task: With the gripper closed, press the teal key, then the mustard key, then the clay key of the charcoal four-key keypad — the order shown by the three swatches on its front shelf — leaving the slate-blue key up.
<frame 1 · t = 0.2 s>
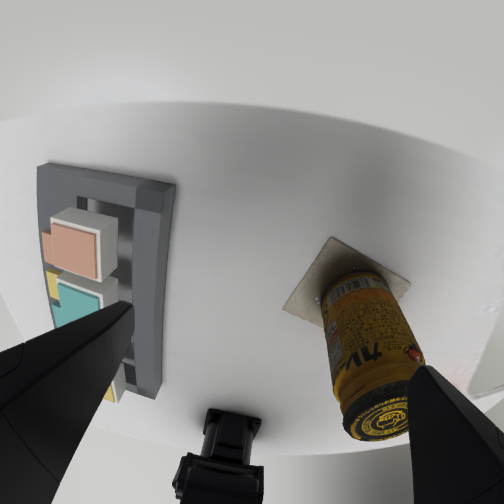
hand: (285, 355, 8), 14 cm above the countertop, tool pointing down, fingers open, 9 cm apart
key mustard: (103, 372, 25), point 4 cm above the countertop, slide at 0.0 cm
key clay: (87, 240, 19), point 4 cm above the countertop, slide at 0.0 cm
key teal: (91, 295, 21), point 4 cm above the countertop, slide at 0.0 cm
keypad: (106, 290, 25), on the countertop
condiment: (348, 294, 23), on the countertop
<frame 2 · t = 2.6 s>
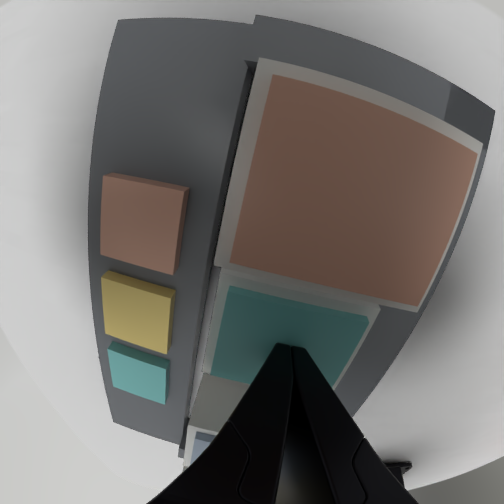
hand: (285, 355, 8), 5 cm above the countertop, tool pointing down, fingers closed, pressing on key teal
key mustard: (229, 467, 12), point 4 cm above the countertop, slide at 0.0 cm
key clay: (341, 181, 6), point 4 cm above the countertop, slide at 0.0 cm
key slate: (249, 426, 10), point 4 cm above the countertop, slide at 0.0 cm
key teal: (284, 312, 10), point 3 cm above the countertop, slide at -1.6 cm, touching gripper
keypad: (248, 317, 13), on the countertop
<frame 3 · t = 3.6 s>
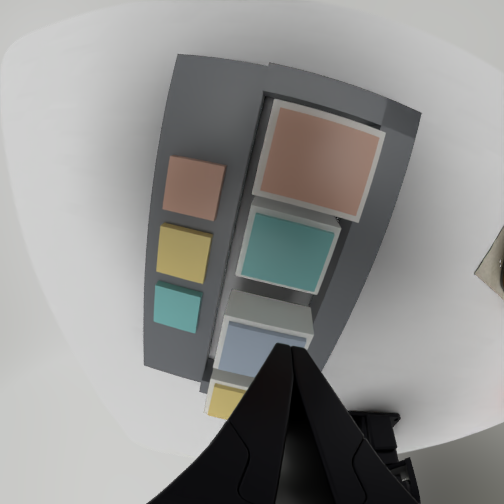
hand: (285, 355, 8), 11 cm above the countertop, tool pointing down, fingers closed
key mustard: (244, 385, 18), point 4 cm above the countertop, slide at 0.0 cm
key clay: (314, 157, 12), point 4 cm above the countertop, slide at 0.0 cm
key slate: (262, 332, 16), point 4 cm above the countertop, slide at 0.0 cm
key teal: (286, 240, 16), point 2 cm above the countertop, slide at -2.1 cm
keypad: (260, 259, 19), on the countertop
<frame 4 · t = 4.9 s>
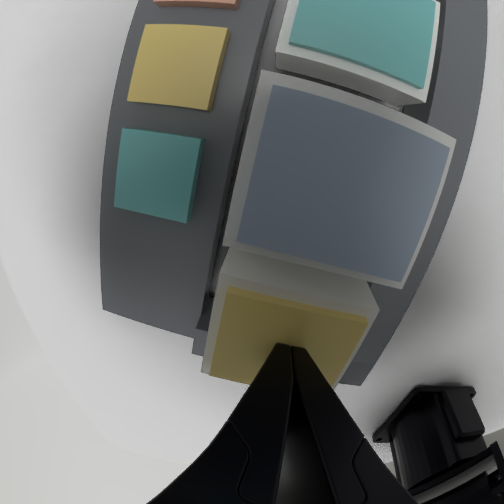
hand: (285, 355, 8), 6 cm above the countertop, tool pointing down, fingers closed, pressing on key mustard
key mustard: (283, 313, 10), point 4 cm above the countertop, slide at -0.6 cm, touching gripper
key slate: (332, 174, 7), point 4 cm above the countertop, slide at 0.0 cm
key teal: (354, 33, 7), point 2 cm above the countertop, slide at -2.1 cm
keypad: (304, 93, 10), on the countertop
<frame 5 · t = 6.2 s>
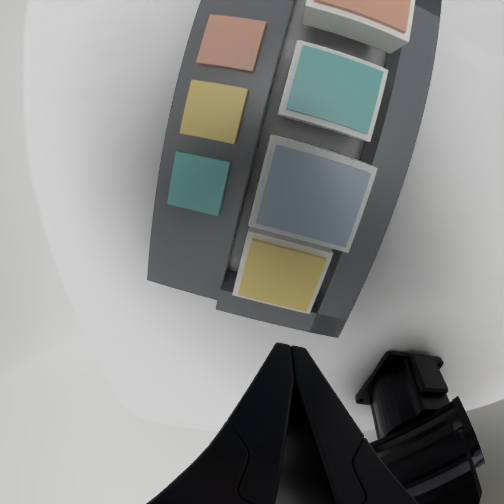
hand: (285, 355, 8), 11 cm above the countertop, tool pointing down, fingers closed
key mustard: (281, 261, 17), point 2 cm above the countertop, slide at -2.1 cm
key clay: (357, 2, 9), point 4 cm above the countertop, slide at 0.0 cm
key slate: (309, 187, 13), point 4 cm above the countertop, slide at 0.0 cm
key teal: (329, 93, 13), point 2 cm above the countertop, slide at -2.1 cm
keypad: (297, 130, 16), on the countertop
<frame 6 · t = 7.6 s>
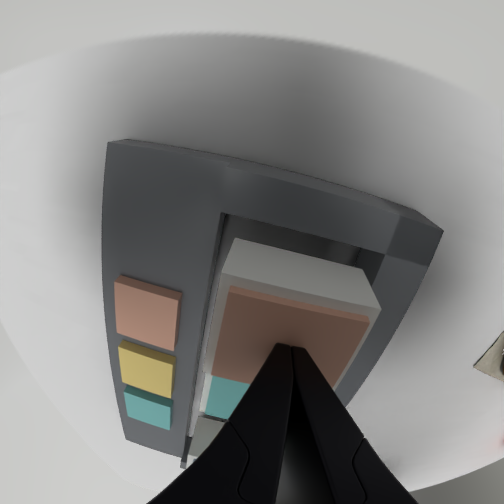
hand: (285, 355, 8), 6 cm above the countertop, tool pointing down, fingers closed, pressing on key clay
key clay: (285, 312, 10), point 4 cm above the countertop, slide at -0.5 cm, touching gripper
key slate: (232, 451, 13), point 4 cm above the countertop, slide at 0.0 cm
key teal: (256, 372, 13), point 2 cm above the countertop, slide at -2.1 cm
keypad: (232, 370, 16), on the countertop
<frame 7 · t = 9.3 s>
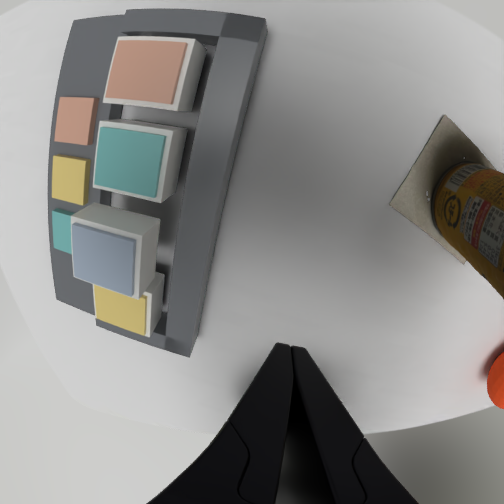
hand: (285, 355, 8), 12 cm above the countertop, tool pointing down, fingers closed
key mustard: (131, 293, 20), point 2 cm above the countertop, slide at -2.1 cm
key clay: (158, 74, 13), point 2 cm above the countertop, slide at -2.1 cm
key slate: (118, 245, 16), point 4 cm above the countertop, slide at 0.0 cm
key teal: (142, 155, 15), point 2 cm above the countertop, slide at -2.1 cm
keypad: (137, 184, 18), on the countertop
condiment: (456, 193, 17), on the countertop
clementine: (502, 356, 22), on the countertop
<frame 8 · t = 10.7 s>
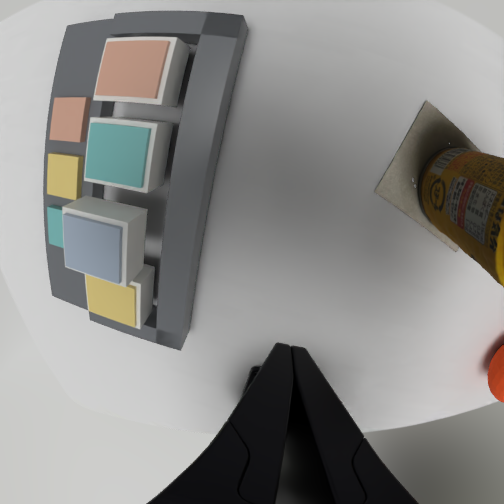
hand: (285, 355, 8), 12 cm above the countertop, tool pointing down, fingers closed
key mustard: (122, 286, 20), point 2 cm above the countertop, slide at -2.1 cm
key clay: (144, 72, 14), point 2 cm above the countertop, slide at -2.1 cm
key slate: (107, 235, 16), point 4 cm above the countertop, slide at 0.0 cm
key teal: (130, 150, 16), point 2 cm above the countertop, slide at -2.1 cm
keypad: (127, 179, 19), on the countertop
condiment: (443, 179, 17), on the countertop
clementine: (503, 350, 22), on the countertop
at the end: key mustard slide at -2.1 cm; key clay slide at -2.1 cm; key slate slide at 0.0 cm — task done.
